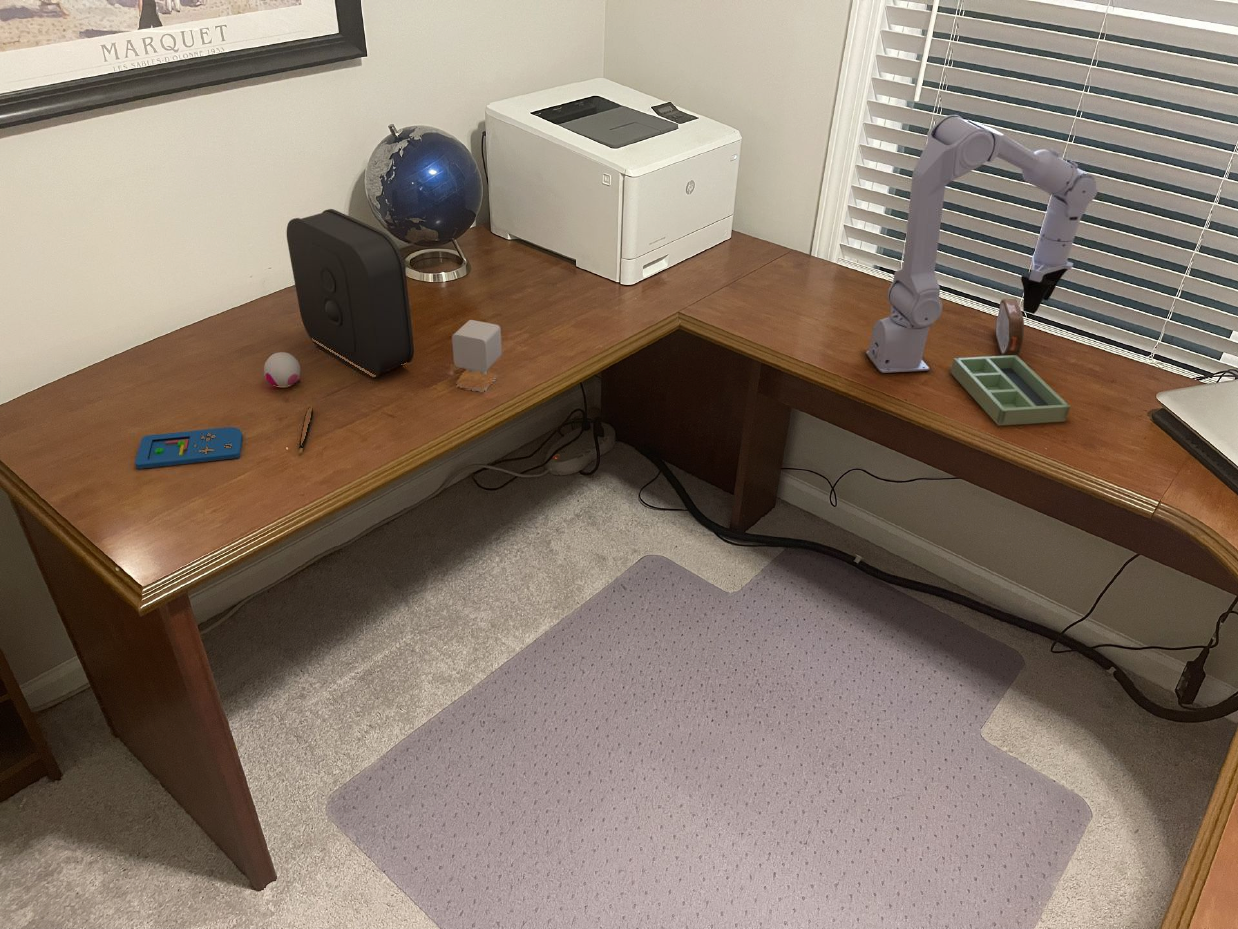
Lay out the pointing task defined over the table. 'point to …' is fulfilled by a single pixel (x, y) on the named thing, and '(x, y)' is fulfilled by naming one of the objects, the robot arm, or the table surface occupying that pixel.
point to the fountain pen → (301, 447)
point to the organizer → (1009, 390)
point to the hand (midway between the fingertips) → (1035, 305)
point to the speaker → (351, 290)
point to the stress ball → (282, 369)
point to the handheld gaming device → (188, 447)
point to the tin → (1009, 327)
